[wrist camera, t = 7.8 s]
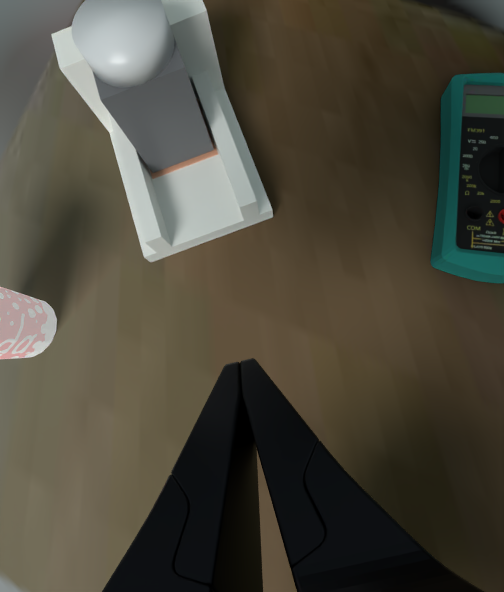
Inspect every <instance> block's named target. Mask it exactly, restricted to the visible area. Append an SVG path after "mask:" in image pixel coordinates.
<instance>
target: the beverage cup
mask: <svg viewBox="0 0 504 592" xmlns="http://www.w3.org/2000/svg"><path fill="white" fill-rule="evenodd" d="M56 326H57V318H56V316H55V313H54V310H53V308H52V307H51V306H50V305H49V304H48V303H47V302H45V301H42V300H39V299H36V298H33V297H30V296H27V295H24V294H21V293H18V292H15V291H12V290H9V289H6V288H3V287H0V359H12V358H26V357H33V356H35V355H37V354H39V353H41V352H43V351H44V350H45V349H46V348H47V347H48V345H49V344H50V343H51V342H52V340H53V337H54V335H55V333H56Z"/></svg>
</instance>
